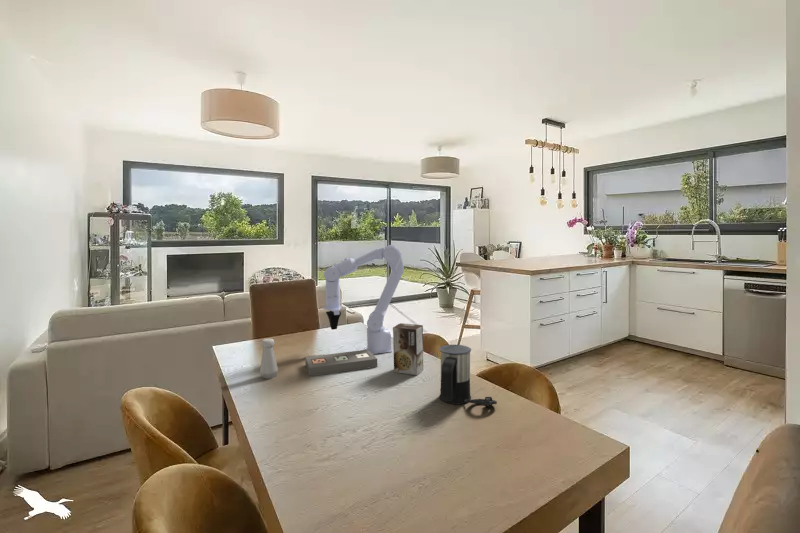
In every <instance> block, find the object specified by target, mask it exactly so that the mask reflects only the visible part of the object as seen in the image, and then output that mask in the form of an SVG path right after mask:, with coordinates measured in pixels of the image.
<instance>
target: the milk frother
mask: <svg viewBox="0 0 800 533" xmlns="http://www.w3.org/2000/svg"><path fill="white" fill-rule="evenodd" d="M439 350H440V390H439V391H440V393H439V399H440V400H442V401H443V402H445V403H447V404H453V405H461V404H466V403H467V404H468V403H470V404H478V405H485V407H489V408H490V407H493V405H497V404H498V402H497V400H494V399H493V398H492V396H484V398H475V399H474V398H473V399H472V396H471V351H472V348H471V347H469V346H466V345H464V344H463V345H462V344H446V345H442V346H441V347H439Z"/></svg>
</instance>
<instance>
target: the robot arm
mask: <svg viewBox="0 0 800 533" xmlns="http://www.w3.org/2000/svg"><path fill="white" fill-rule="evenodd" d="M383 259H384V260H385V261H386V262H387V263H388V265H389V267H390V270H391V271H390V274H389V277H388V279H387V280H386V283H385V286H384V288H383V291H382V292H381V295H380V297H379V299H378V301H377V303H376V306H375V308H374V310H373V311H372V312H371V313H370V314H369V315H368V319H367V321H366V325H367V328H366V341H367V342H366V346H367V347H365V348H364V349H363V350H369V351H370V352H371V353H372V354H373V355H375V354H384V353H391V352H392V351H393V350H392V334H391V330H390V329H389V328H385V327H384V318H385V315H386V312H387V310H388V307H389V305H390V303H391V301H392V298H394V294H395V292H396V289H397V288H398V285H399V283H400V280H401V278H402V277H403V276H402V275H403V274H404V271H405V268H404V263H403V258H402V252H401V251H400V250H399V248H398V246H396V245H394V244H389V245H387V246H386V247H385V246H382V247H378V248H375V249H374V250H371V251H369V252H367V253H364V255H362V256H359V257H357V258H353V257H349V258H348V257H346V258H344V260H343V261H340V262H337V263H333V266H329V267H328V268H325V271H324V272H323V276H324V278H325V306H323V307H322V309H323V310H324V311H325V310H326V311H325V314H326V315H327V318H328V321H329V322H328V323H329V325H330V329H331V330H337V329H338V326H339V320H340V317H341V315H342V312H341V309H342V305H341V285H340V277H341V278H343V277H345V276H348V275H350V274H352V273H354V272H357V270H358V267H360V266H362V265H365V264H367V263H368V262H372V261H374V260H383Z"/></svg>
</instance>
